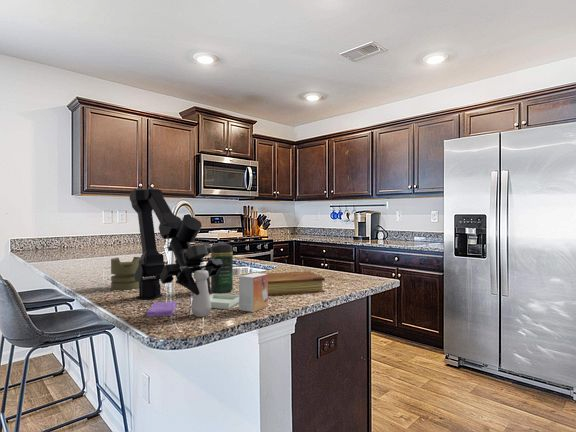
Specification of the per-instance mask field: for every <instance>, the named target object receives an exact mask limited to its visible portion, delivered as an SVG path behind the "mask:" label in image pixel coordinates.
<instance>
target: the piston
mask: <svg viewBox="0 0 576 432" xmlns="http://www.w3.org/2000/svg"><path fill="white" fill-rule="evenodd" d="M140 257H141V256H133V259H132V261H121V260H120V257H115V258H111V259H110V274H111V275H112V276H111V277H110V281H111V283H110V289H112V290H111V291H113V290H129V291H133V290H132V289H135V290H139V282H138V281H135V276H134V274H135V272H136V270H137V268H138V266H139V259H140Z"/></svg>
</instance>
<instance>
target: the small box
mask: <svg viewBox="0 0 576 432" xmlns="http://www.w3.org/2000/svg"><path fill="white" fill-rule="evenodd" d="M238 295H239V304H238V308H239V311H243V312H251V313H255V312H257V311H260V310H262V309H266V307H267V308H268V307H269V295H268V274H265V273H257V272H253V273H249V274H245V275H239V276H238Z"/></svg>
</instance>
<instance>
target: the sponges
mask: <svg viewBox="0 0 576 432" xmlns="http://www.w3.org/2000/svg"><path fill="white" fill-rule="evenodd" d="M177 304H178V301H167V302H166V301H164V302H163V301H162V302H153V304H152V305H151V307H149V309H148V310H147V311H146V317H163V316H164V317H165V316H172V315H173V313H174V311H175V309H176V307H177Z"/></svg>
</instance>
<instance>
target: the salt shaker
mask: <svg viewBox="0 0 576 432" xmlns="http://www.w3.org/2000/svg"><path fill="white" fill-rule="evenodd" d="M208 277H209V274H208V271H206V270H198V271H195V272H194V274H193V279H194V280H195V283H196V285H197V288H198V290H199V295H196V294H194V293H193V292H192V301H191V305H190V308H191V312H192V314H193V316H194V317H196V318H203V317H207V316H209V314H210V312H211V310H212V308H211V301H210V295H211V294H210V293H209V291H208V284H207V278H208Z"/></svg>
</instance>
